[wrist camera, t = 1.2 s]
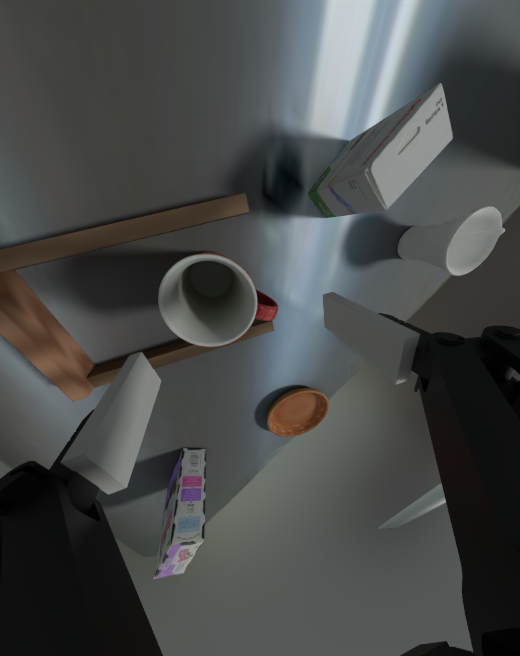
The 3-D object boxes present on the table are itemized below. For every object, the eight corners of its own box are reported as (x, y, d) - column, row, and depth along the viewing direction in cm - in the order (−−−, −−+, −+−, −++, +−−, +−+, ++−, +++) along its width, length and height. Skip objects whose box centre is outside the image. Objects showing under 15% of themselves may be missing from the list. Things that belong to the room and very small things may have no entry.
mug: (173, 295, 29) (149, 337, 17) (186, 234, 26) (168, 235, 14) (248, 315, 34) (270, 360, 22) (267, 266, 31) (304, 287, 19)
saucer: (280, 435, 52) (284, 446, 50) (252, 405, 44) (255, 416, 42) (330, 406, 52) (336, 415, 49) (311, 371, 44) (317, 379, 41)
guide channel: (-19, 257, 22) (-75, 263, 18) (241, 196, 26) (248, 189, 21) (91, 378, 32) (73, 401, 28) (269, 323, 35) (277, 336, 31)
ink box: (325, 219, 29) (387, 213, 19) (306, 193, 27) (365, 169, 17) (367, 171, 28) (459, 135, 18) (350, 138, 25) (445, 75, 15)
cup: (428, 256, 37) (495, 263, 28) (386, 272, 36) (442, 285, 28) (436, 204, 33) (518, 194, 24) (389, 222, 32) (455, 219, 23)
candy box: (182, 446, 45) (169, 547, 30) (207, 447, 47) (205, 541, 33) (168, 480, 49) (151, 582, 35) (191, 480, 51) (184, 575, 37)
